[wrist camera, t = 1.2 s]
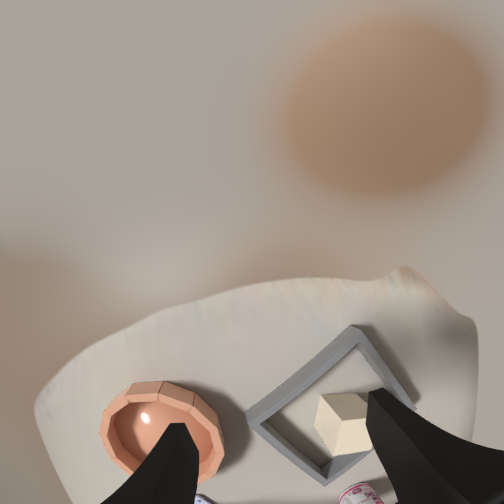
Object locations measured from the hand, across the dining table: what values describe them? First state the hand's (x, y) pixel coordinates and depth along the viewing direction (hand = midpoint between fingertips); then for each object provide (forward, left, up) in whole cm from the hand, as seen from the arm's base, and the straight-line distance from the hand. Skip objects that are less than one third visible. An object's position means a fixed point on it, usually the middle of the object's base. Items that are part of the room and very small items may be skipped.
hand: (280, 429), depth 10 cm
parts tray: (-13, -2, -17) cm, 21 cm away
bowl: (-3, +13, -17) cm, 22 cm away
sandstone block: (-13, -2, -17) cm, 21 cm away
